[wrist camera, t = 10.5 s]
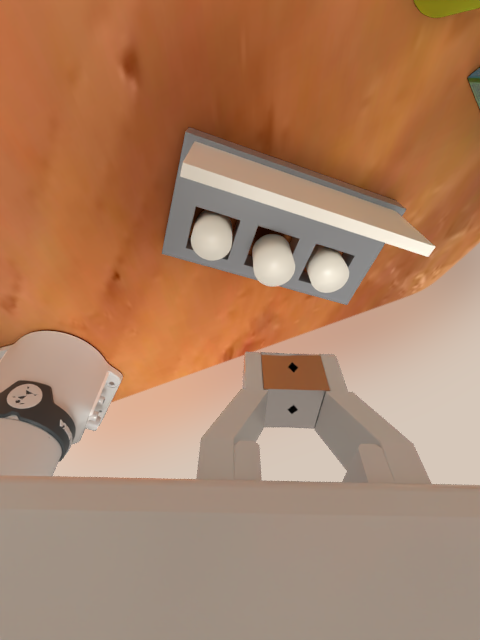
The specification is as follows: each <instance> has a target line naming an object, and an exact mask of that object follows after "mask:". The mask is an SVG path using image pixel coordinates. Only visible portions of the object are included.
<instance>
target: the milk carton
mask: <svg viewBox="0 0 480 640" xmlns="http://www.w3.org/2000/svg"><path fill="white" fill-rule="evenodd" d="M468 81H469V83H470V86H471V88H472V91H473V93H474V96H475V98H476V101H477V103H478V106H479V108H480V68H478V69H477V70H476V71H475V72H473V73H472V74H471V75H470V76H469V77H468Z"/></svg>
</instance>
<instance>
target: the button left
mask: <svg viewBox="0 0 480 640" xmlns="http://www.w3.org/2000/svg"><path fill="white" fill-rule="evenodd" d="M191 245H192V248H193V250H194V251H195V253H196V254H197V255H198V256H200V257H201V258H203V259H206V260H211V261H214V260H219V259H222V258H223V257H225V256H226V255H227V254H228V253H229V251H230V249H231V247H232V222H231V220H230V218H229V217H228V216H225V215H222V214H219V213H215V212H212V211H209V210H205V211H203V212H201V213H200V214H199V215H198V217H197V218H196V221H195V224H194V228H193V232H192V235H191Z"/></svg>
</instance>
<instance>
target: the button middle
mask: <svg viewBox="0 0 480 640" xmlns="http://www.w3.org/2000/svg"><path fill="white" fill-rule="evenodd" d="M252 257H253V269H254V274H255V277H256V278H257V280H258V281H259V282H260V283H262V284H264V285H266V286H280V285H283V284H285V283H286V282H288V281H289V280H290V279H291V277H292V276H293V274H294V272H295V262H294V259H293V255H292V252H291V249H290V245H289V243H288V241H287V240H286V239H285V238H284V237H282V236H280V235H277V234H268V235H264V236H262V237H261V238H259V239H258V240H257V241H256V242H255V244H254V246H253V249H252Z"/></svg>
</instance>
